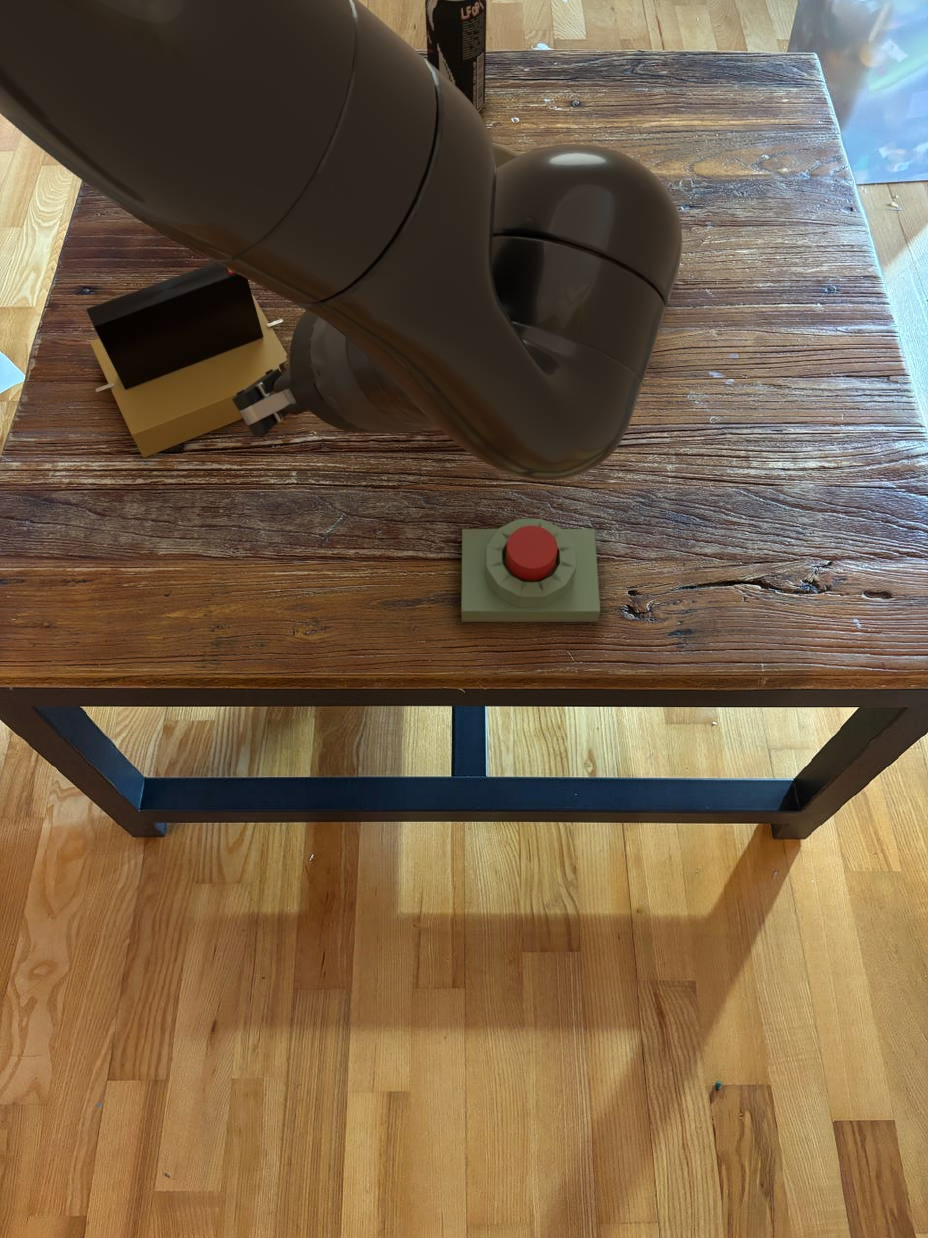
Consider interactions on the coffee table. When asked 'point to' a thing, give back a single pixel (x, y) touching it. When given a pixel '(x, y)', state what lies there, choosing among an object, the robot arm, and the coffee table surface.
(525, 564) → the button
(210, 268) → the block
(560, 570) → the button block
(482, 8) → the beverage can
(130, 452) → the coffee table surface
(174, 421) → the plate
